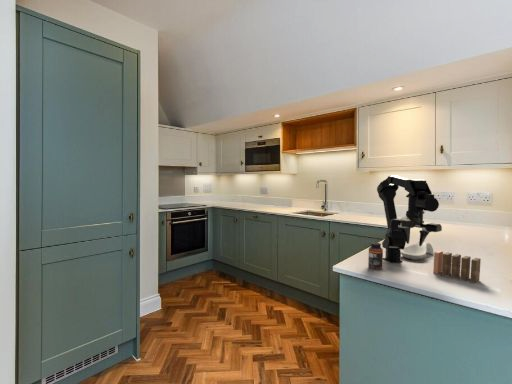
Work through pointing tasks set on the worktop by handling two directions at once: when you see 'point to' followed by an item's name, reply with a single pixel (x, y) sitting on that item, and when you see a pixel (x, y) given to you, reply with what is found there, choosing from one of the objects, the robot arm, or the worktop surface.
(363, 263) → the worktop surface
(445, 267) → the walnut domino
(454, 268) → the walnut domino
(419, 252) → the spoon rest
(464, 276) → the walnut domino
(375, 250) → the supplement bottle
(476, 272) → the walnut domino
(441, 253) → the terracotta domino
